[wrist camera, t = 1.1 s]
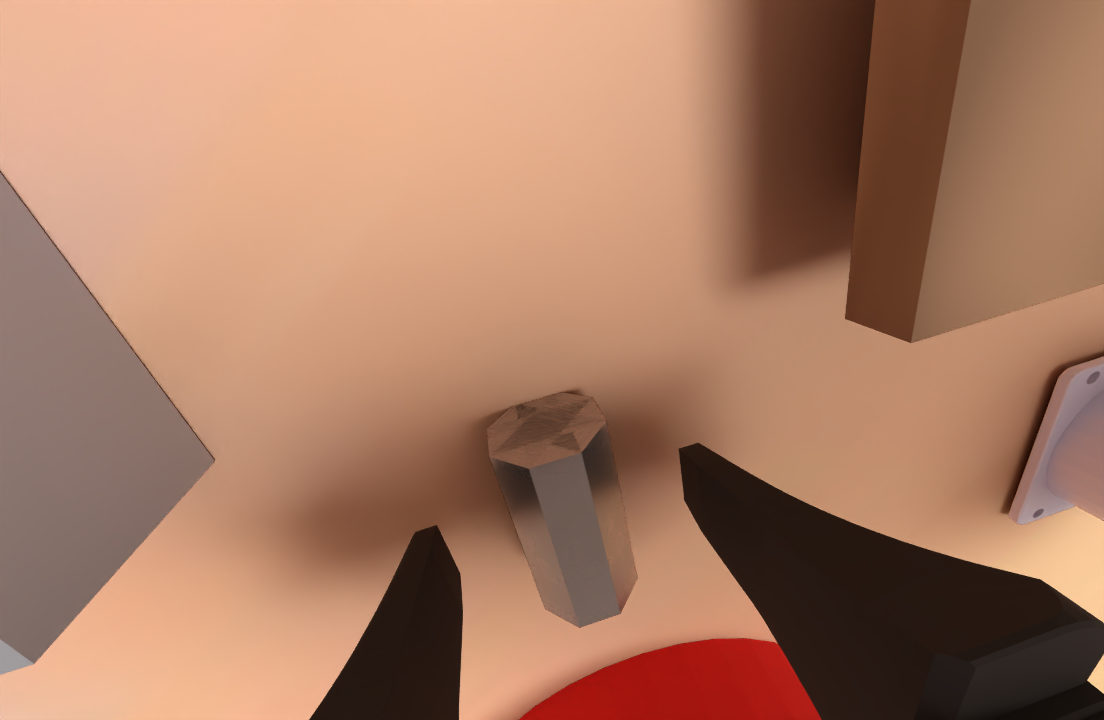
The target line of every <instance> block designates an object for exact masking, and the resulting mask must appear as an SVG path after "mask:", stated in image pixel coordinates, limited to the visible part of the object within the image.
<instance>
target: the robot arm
mask: <svg viewBox="0 0 1104 720" xmlns="http://www.w3.org/2000/svg"><path fill="white" fill-rule="evenodd" d="M679 455H680V464H681V474H682V483H683V492H684V500H685V502H686V504H687V506H688V508H689V510H690V511H691V513H692V515H693V517H694V519H695V521H696V522H697V524H698V526H699V528H700V529H701V531H702V533H703V534H704V536H705V537H706V538H707V540H708V541H709V543H710V544H711V545H712V547H713V548H714V550H715V551H716V552H717V554H718V555H719V557H720V558H721V559H722V561H723V562H724V564H725V565H726V566H727V568H728V569H729V571H730V572H731V573H732V575H733V576H734V578H735V579H736V580H737V582H738V583H739V585H740V586H741V587H742V589H743V590H744V591H745V593H746V594H747V596H748V597H749V598H750V600H751V601H752V603H753V604H754V606H755V607H756V609H757V610H758V612H759V613H760V615H761V616H762V618H763V619H764V621H765V622H766V624H767V626H768V627H769V629H770V631H771V633H772V634H773V636H774V638H775V639H776V641H777V643H778V644H779V646H780V648H781V649H782V651H783V653H784V654H785V656H786V658H787V659H788V661H789V663H790V665H791V666H792V668H793V670H794V672H795V673H796V675H797V677H798V679H799V680H800V682H801V684H802V686H803V687H804V689H805V691H806V693H807V694H808V696H809V698H810V700H811V701H812V703H813V705H814V707H815V709H816V710H817V712H818V714H819V716H820V718H821V719H822V720H1104V694H1103V693H1102V692H1101V691H1099V690H1098V689H1097V688H1096V687H1094V686H1093V685H1092V684H1091V683H1090V682H1088V681H1087V679H1088V678H1089V676H1090V675H1091V673H1092V672H1093V670H1094V668H1095V667H1096V665H1097V664H1098V662H1099V661H1100V659H1101V657H1102V656H1103V654H1104V623H1103V622H1102V621H1100V620H1099V619H1097V618H1096V617H1094V616H1093V615H1091V614H1090V613H1089V612H1087V611H1086V610H1084V609H1083V608H1081V607H1080V606H1079V605H1077V604H1076V603H1074V602H1073V601H1071V600H1070V599H1068V598H1067V597H1066V596H1064V595H1063V594H1061V593H1060V592H1058V591H1057V590H1056V589H1054V588H1053V587H1051V586H1050V585H1048V584H1046V583H1045V582H1043V581H1042V580H1040V579H1036V578H1032V577H1028V576H1024V575H1020V574H1016V573H1012V572H1008V571H1004V570H1000V569H996V568H992V567H988V566H984V565H980V564H976V563H972V562H968V561H965V560H961V559H958V558H954V557H951V556H948V555H944V554H941V553H938V552H934V551H931V550H927V549H924V548H921V547H918V546H915V545H912V544H909V543H906V542H903V541H900V540H897V539H894V538H891V537H889V536H886V535H883V534H880V533H877V532H875V531H872V530H869V529H866V528H864V527H861V526H859V525H856V524H853V523H851V522H848V521H846V520H844V519H841V518H839V517H837V516H834V515H832V514H830V513H827V512H825V511H822V510H820V509H818V508H816V507H814V506H811V505H809V504H807V503H805V502H803V501H801V500H799V499H797V498H795V497H793V496H791V495H789V494H787V493H785V492H783V491H781V490H779V489H777V488H775V487H773V486H772V485H770V484H768V483H766V482H764V481H763V480H761V479H759V478H757V477H755V476H754V475H752V474H750V473H748V472H747V471H745V470H743V469H741V468H740V467H738V466H736V465H735V464H733V463H731V462H730V461H728V460H726V459H725V458H723V457H721V456H720V455H718V454H716V453H715V452H713V451H711V450H710V449H708V448H706V447H705V446H703V445H701V444H700V443H696V444H693V445H689V446H686V447H683V448H680V449H679ZM1075 506H1076V507H1078V508H1080V509H1082V510H1084V511H1086V512H1088V513H1090V514H1091V515H1093V516H1095V517H1097V518H1099V519H1101V520H1103V521H1104V356H1103V357H1100V358H1097V359H1094V360H1091V361H1088V362H1085V363H1081V364H1078V365H1075V366H1072V367H1070V368H1068V369H1066V370H1065V371H1064V372H1063V373H1062V374H1061V375H1060V376H1059V378H1058V380H1057V382H1056V385H1055V388H1054V391H1053V393H1052V396H1051V399H1050V402H1049V404H1048V407H1047V410H1046V413H1045V415H1044V418H1043V421H1042V424H1041V426H1040V429H1039V432H1038V435H1037V437H1036V440H1035V443H1034V446H1033V448H1032V451H1031V454H1030V457H1029V459H1028V462H1027V465H1026V468H1025V470H1024V473H1023V476H1022V479H1021V481H1020V484H1019V487H1018V489H1017V492H1016V495H1015V498H1014V500H1013V503H1012V506H1011V509H1010V511H1009V518H1010V519H1011V520H1012V521H1014V522H1016V523H1017V524H1020V525H1023V524H1027V523H1030V522H1032V521H1035V520H1038V519H1041V518H1044V517H1046V516H1049V515H1052V514H1055V513H1058V512H1061V511H1063V510H1066V509H1069V508H1072V507H1075ZM462 624H463V605H462V590H461V577H460V572H459V570H458V568H457V566H456V564H455V562H454V560H453V558H452V555H451V553H450V551H449V549H448V547H447V545H446V543H445V541H444V539H443V537H442V535H441V533H440V531H439V529H438V527H437V525H436V526H433V527H430V528H426V529H423V530H420V531H417V532H415V534H414V535H413V537H412V539H411V541H410V543H409V545H408V547H407V550H406V552H405V554H404V556H403V558H402V560H401V562H400V564H399V567H398V569H397V571H396V573H395V575H394V577H393V579H392V581H391V583H390V585H389V587H388V589H387V591H386V593H385V595H384V597H383V599H382V601H381V603H380V604H379V606H378V608H377V610H376V612H375V614H374V616H373V618H372V620H371V621H370V623H369V625H368V627H367V628H366V630H365V632H364V634H363V636H362V637H361V639H360V641H359V643H358V644H357V646H356V648H355V650H354V651H353V653H352V655H351V656H350V658H349V660H348V661H347V663H346V665H345V666H344V668H343V670H342V671H341V673H340V674H339V676H338V678H337V679H336V681H335V682H334V684H333V685H332V687H331V688H330V690H329V691H328V693H327V695H326V696H325V698H324V699H323V701H322V702H321V703H320V705H319V706H318V708H317V709H316V711H315V712H314V714H313V715H312V716H311V718H310V719H309V720H459V693H460V670H461V648H462Z"/></svg>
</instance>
